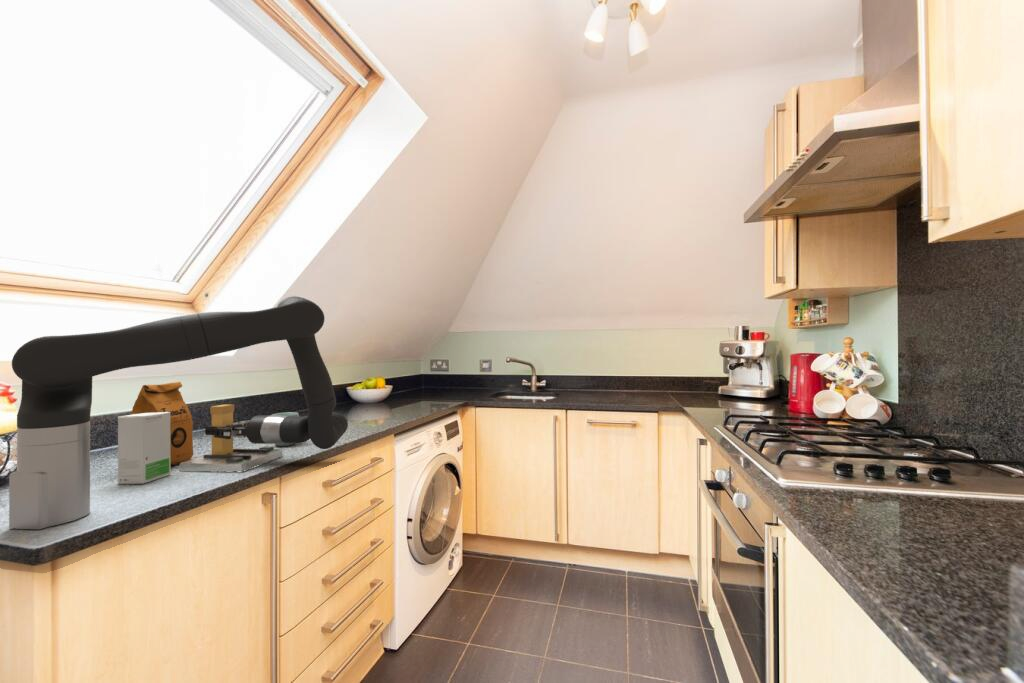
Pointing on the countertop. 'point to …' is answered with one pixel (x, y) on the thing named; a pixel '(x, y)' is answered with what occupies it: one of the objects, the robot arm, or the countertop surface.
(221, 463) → the plate
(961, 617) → the countertop surface
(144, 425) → the skincare box
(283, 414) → the cup
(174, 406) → the coffee package
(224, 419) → the handle
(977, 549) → the countertop surface
